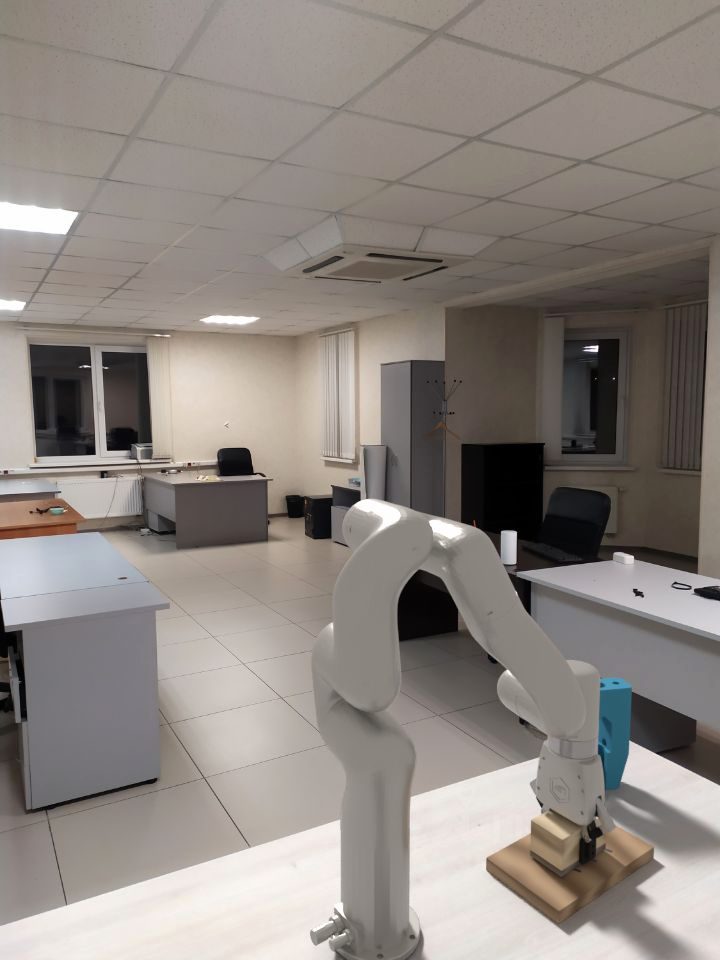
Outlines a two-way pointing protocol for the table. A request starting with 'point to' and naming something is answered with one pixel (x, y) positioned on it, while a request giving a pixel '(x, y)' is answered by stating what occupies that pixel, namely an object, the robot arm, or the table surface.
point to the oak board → (577, 885)
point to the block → (614, 729)
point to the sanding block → (558, 842)
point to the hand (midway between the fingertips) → (568, 848)
